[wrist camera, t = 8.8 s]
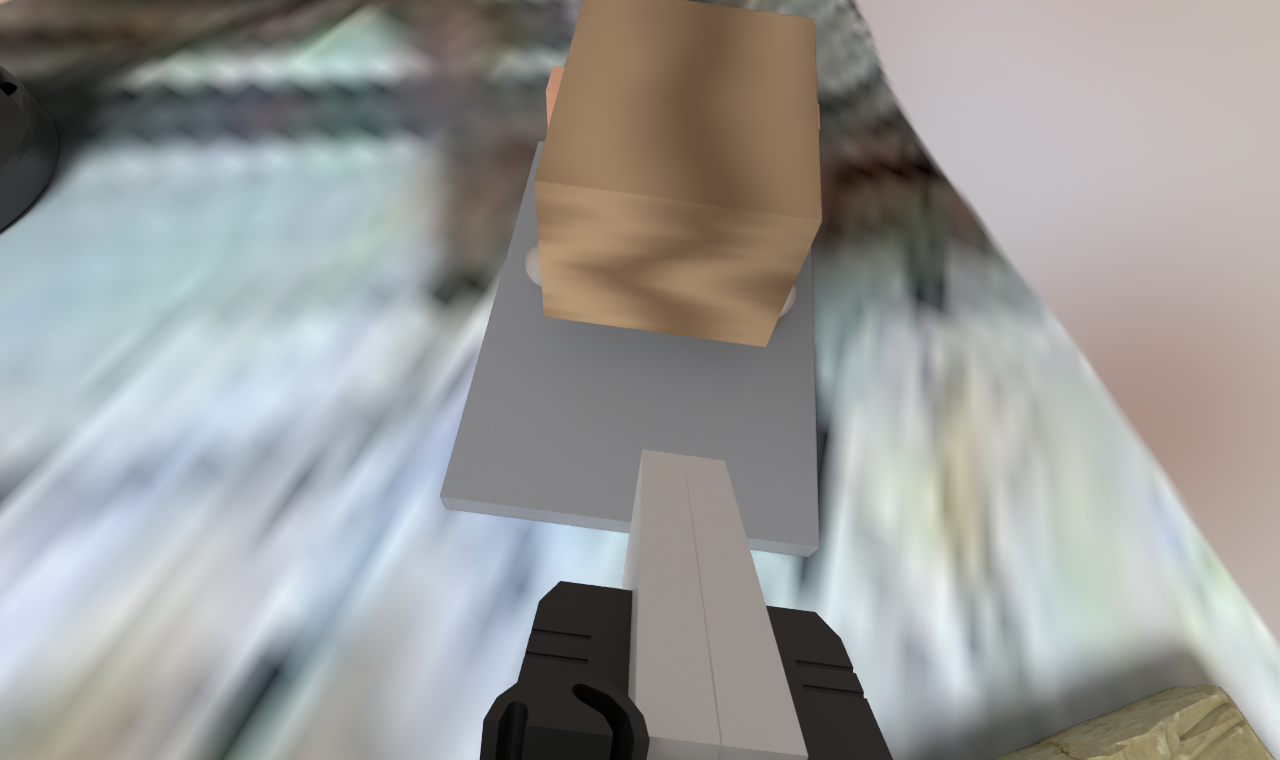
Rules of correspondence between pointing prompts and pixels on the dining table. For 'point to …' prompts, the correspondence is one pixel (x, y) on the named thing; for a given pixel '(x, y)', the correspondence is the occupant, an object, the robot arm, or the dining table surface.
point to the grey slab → (632, 410)
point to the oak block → (679, 170)
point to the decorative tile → (1158, 731)
